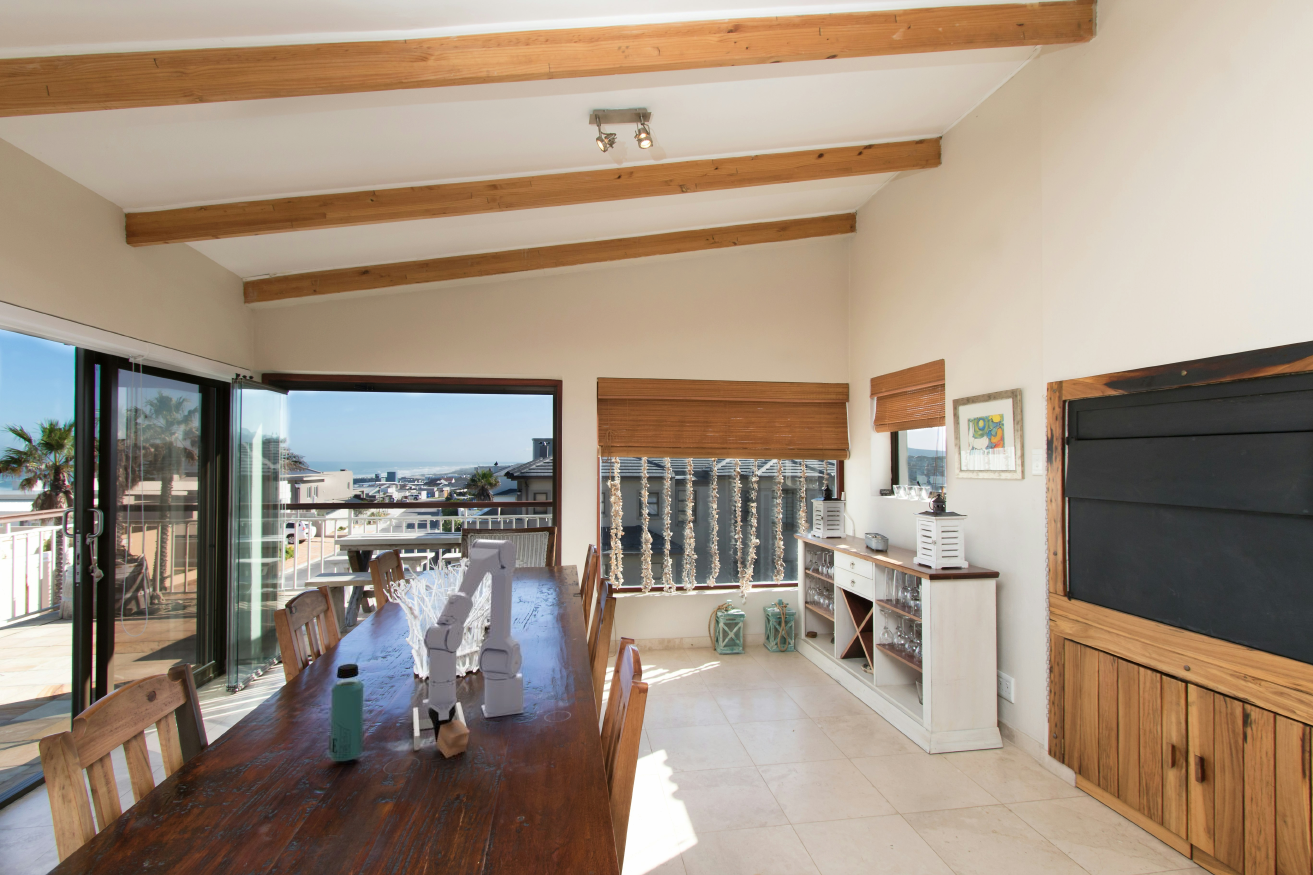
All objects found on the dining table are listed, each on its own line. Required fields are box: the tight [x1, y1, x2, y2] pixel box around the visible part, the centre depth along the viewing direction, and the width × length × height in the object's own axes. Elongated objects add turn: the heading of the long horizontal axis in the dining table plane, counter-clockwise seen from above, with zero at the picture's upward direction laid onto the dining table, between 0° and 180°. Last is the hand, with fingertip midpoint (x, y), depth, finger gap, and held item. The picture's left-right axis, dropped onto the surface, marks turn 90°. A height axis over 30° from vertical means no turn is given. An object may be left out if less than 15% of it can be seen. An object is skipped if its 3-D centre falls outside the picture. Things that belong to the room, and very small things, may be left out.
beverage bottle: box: [328, 663, 365, 762], centre depth 137 cm, size 6×7×20 cm
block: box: [435, 719, 471, 759], centre depth 141 cm, size 4×4×5 cm
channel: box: [412, 701, 467, 751], centre depth 153 cm, size 11×18×3 cm, turn 21°
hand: (441, 741), depth 143 cm, fingers closed
